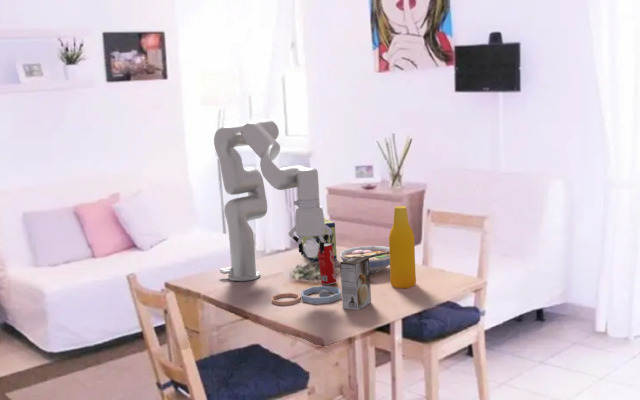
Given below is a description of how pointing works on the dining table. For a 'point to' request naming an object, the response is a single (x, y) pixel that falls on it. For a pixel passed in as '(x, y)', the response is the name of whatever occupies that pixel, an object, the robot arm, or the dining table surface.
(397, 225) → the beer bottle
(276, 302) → the terracotta ring
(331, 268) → the beverage can
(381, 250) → the ramen bowl
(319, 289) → the slate ring
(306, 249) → the white steamed bun
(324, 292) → the grey ball
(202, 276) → the dining table surface
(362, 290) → the coffee box
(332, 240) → the protein box
